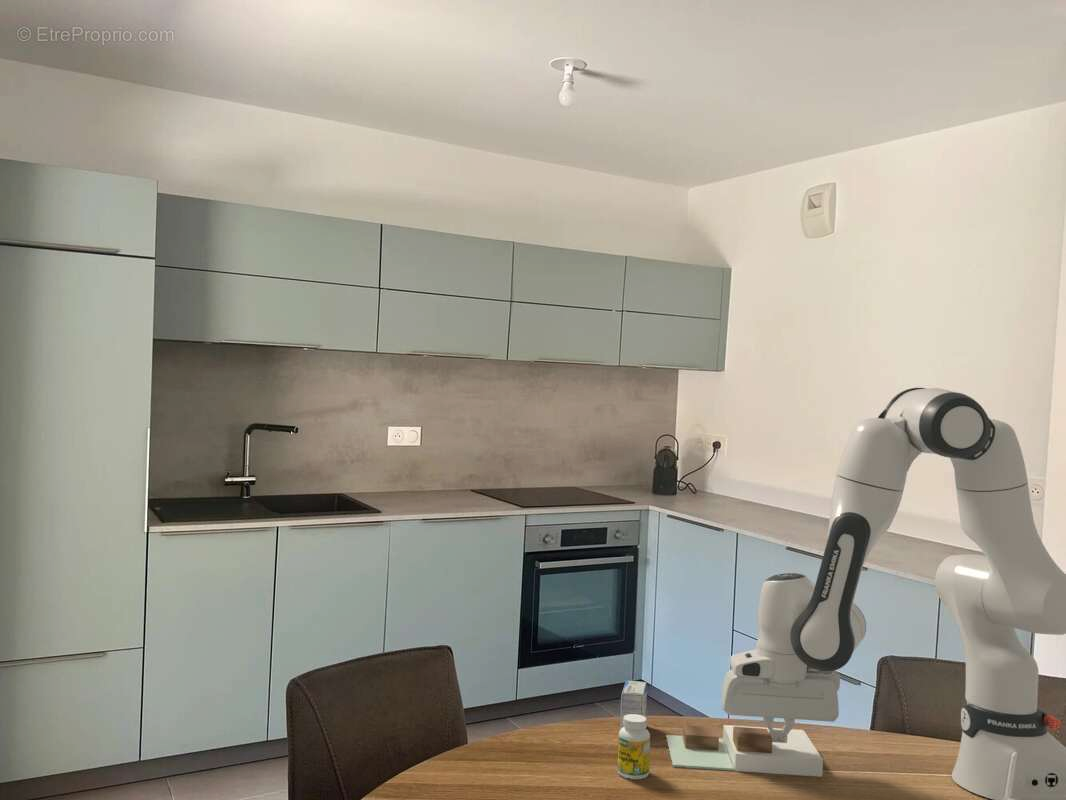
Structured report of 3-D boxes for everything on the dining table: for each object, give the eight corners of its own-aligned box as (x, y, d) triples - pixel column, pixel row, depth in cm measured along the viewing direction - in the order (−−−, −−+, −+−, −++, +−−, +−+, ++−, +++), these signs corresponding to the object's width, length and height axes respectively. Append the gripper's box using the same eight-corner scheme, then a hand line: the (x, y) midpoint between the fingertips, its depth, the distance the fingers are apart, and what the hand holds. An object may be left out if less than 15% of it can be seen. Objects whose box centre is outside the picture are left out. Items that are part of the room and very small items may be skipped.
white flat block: (802, 745, 168) (803, 730, 168) (822, 776, 154) (823, 759, 154) (722, 740, 169) (723, 724, 169) (735, 770, 155) (735, 753, 155)
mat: (721, 740, 169) (721, 738, 169) (733, 770, 155) (734, 768, 155) (665, 737, 170) (666, 734, 170) (672, 766, 156) (673, 764, 156)
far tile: (714, 740, 168) (715, 727, 168) (718, 750, 163) (718, 736, 163) (682, 738, 169) (683, 725, 169) (685, 748, 164) (685, 734, 164)
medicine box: (642, 740, 168) (644, 694, 168) (619, 737, 169) (621, 691, 169) (645, 725, 176) (647, 681, 176) (623, 723, 177) (625, 679, 177)
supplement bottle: (653, 772, 153) (656, 717, 153) (640, 783, 149) (642, 726, 149) (626, 764, 156) (628, 710, 156) (611, 774, 152) (614, 718, 152)
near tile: (766, 742, 161) (766, 728, 161) (771, 753, 156) (772, 739, 156) (732, 740, 162) (733, 726, 162) (737, 750, 157) (737, 736, 157)
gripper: (835, 662, 161) (832, 739, 161) (721, 655, 162) (718, 731, 162) (845, 673, 155) (842, 752, 155) (727, 665, 156) (723, 744, 156)
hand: (777, 741), depth 158 cm, fingers closed
